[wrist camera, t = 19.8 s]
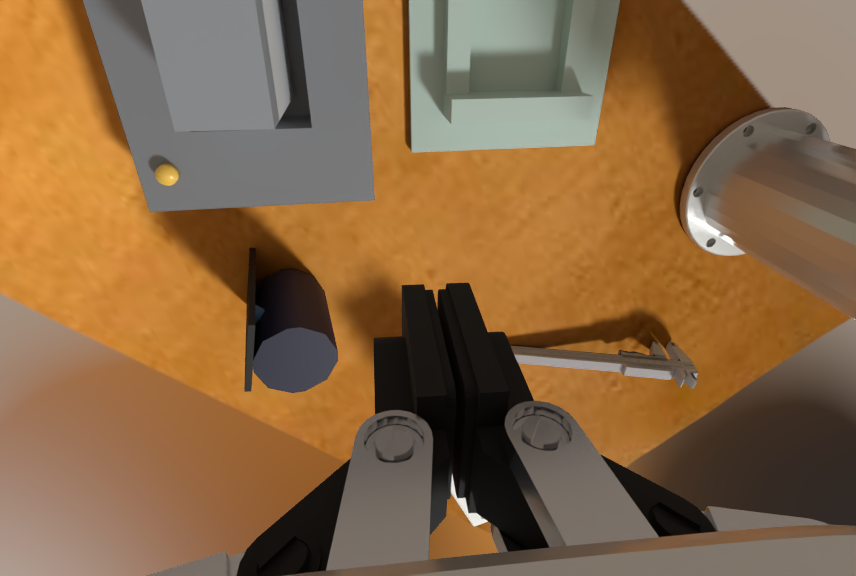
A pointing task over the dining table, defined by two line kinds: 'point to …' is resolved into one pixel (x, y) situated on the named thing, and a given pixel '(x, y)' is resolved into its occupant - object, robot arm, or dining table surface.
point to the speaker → (288, 331)
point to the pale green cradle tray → (507, 72)
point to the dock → (249, 149)
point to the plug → (221, 62)
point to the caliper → (617, 362)
